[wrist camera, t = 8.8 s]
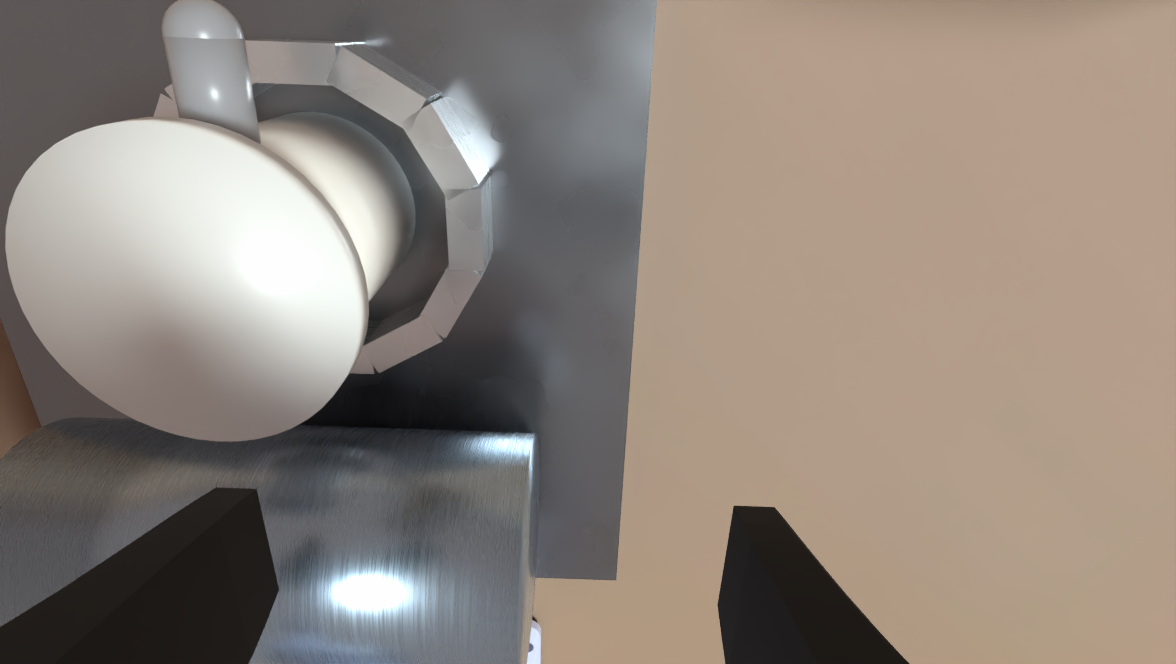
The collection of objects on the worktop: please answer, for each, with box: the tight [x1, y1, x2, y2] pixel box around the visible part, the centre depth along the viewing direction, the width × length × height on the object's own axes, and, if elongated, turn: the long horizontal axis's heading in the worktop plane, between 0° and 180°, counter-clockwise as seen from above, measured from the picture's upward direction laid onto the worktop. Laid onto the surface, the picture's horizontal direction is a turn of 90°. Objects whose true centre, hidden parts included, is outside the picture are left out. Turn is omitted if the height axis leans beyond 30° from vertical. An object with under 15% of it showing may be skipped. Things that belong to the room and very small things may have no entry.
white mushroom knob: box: [5, 0, 415, 442], centre depth 13 cm, size 7×6×6 cm
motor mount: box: [0, 0, 657, 664], centre depth 15 cm, size 18×17×7 cm
